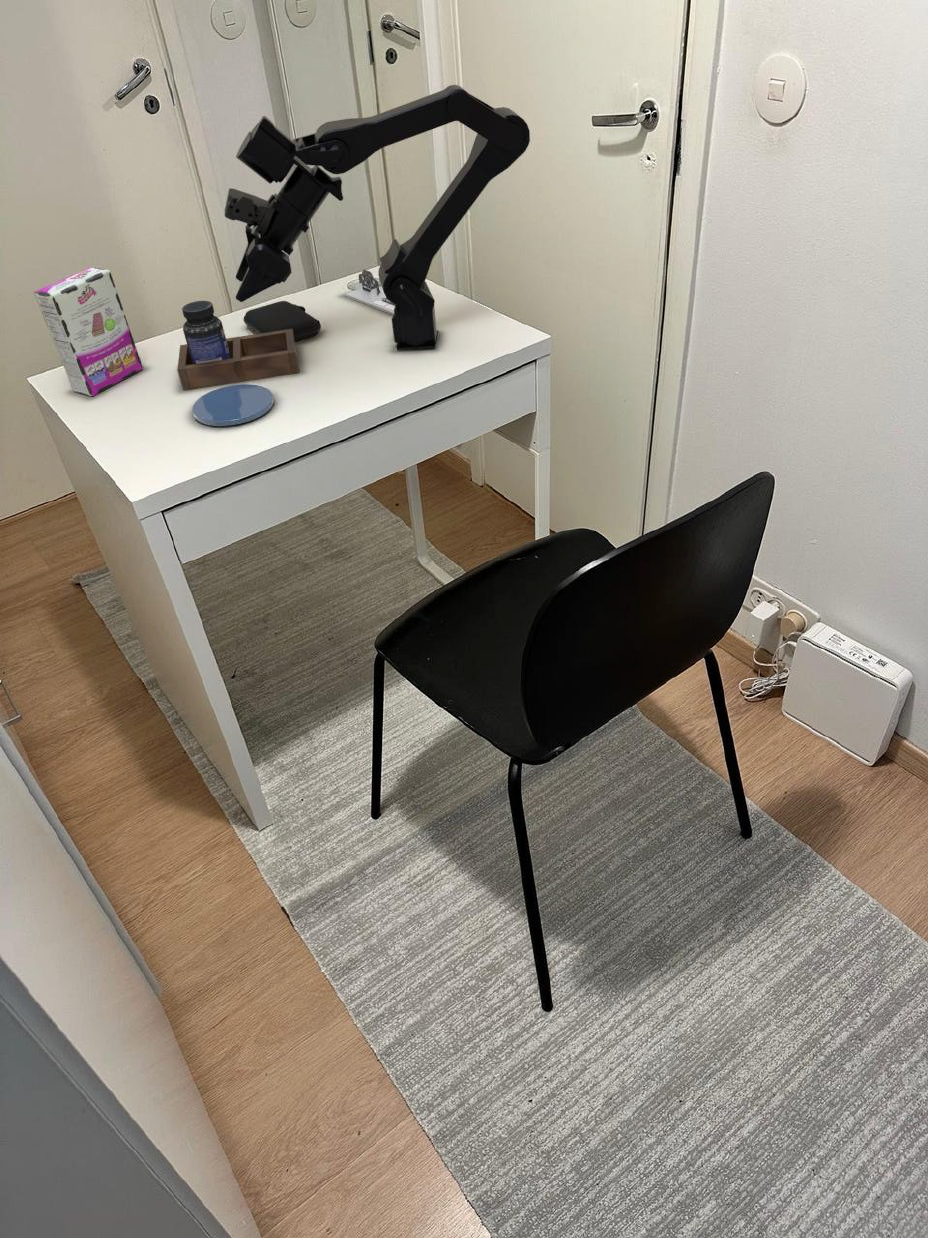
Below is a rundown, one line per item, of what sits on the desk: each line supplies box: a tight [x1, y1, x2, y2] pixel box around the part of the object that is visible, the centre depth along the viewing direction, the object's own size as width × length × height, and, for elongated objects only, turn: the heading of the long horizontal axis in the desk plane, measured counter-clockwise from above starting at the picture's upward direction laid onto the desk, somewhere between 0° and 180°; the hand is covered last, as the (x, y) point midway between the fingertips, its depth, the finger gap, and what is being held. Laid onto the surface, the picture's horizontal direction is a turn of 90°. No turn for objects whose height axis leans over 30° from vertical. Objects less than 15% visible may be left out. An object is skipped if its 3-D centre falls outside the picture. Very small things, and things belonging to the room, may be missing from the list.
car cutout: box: [344, 269, 396, 316], centre depth 163 cm, size 15×7×4 cm, turn 42°
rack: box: [176, 329, 301, 391], centre depth 145 cm, size 18×10×4 cm, turn 101°
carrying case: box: [242, 300, 322, 344], centre depth 156 cm, size 11×3×15 cm
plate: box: [192, 383, 275, 427], centre depth 135 cm, size 12×12×1 cm
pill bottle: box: [181, 300, 231, 364], centre depth 142 cm, size 6×6×11 cm
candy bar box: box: [33, 266, 144, 397], centre depth 141 cm, size 11×5×16 cm, turn 148°
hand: (238, 289), depth 138 cm, fingers open, 9 cm apart
